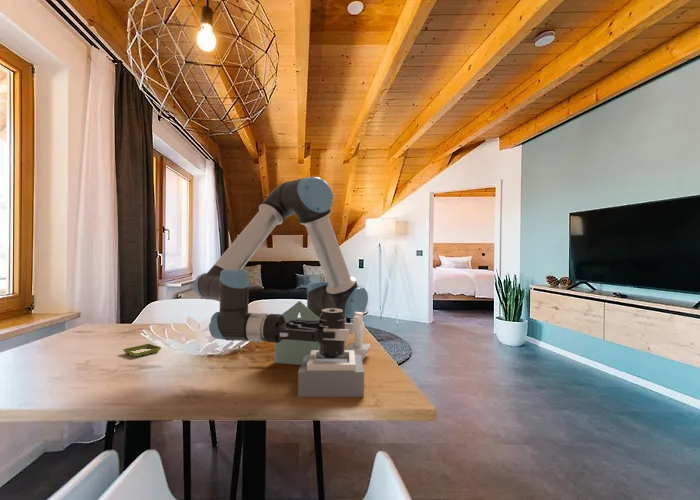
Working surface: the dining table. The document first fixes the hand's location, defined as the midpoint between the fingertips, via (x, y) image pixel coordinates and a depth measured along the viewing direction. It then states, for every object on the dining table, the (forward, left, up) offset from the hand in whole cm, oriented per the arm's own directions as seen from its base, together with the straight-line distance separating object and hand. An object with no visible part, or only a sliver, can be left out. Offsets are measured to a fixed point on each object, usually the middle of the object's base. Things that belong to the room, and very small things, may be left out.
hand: (350, 331), depth 88 cm
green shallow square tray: (-29, -71, -15) cm, 78 cm away
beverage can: (-1, -5, -7) cm, 8 cm away
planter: (-21, -15, -15) cm, 30 cm away
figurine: (-25, +3, -15) cm, 29 cm away
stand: (-1, -5, -14) cm, 15 cm away
